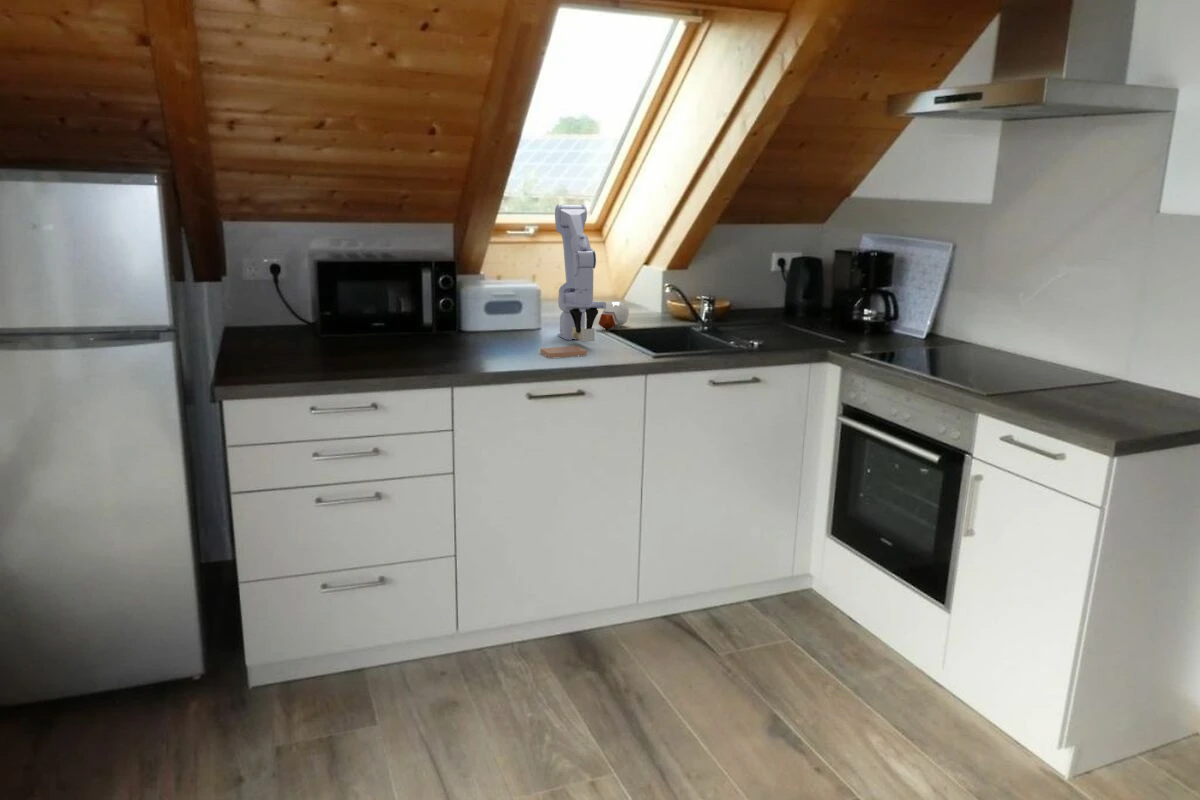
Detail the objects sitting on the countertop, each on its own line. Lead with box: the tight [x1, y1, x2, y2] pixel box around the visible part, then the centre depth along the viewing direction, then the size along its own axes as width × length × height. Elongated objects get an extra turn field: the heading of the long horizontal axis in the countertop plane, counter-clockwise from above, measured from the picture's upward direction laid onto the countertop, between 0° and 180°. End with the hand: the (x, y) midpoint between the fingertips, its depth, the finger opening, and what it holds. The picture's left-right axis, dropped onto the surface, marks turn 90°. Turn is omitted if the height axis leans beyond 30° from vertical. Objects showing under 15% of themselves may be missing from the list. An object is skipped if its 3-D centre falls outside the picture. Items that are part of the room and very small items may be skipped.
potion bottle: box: [598, 300, 630, 330], centre depth 313 cm, size 9×10×15 cm
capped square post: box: [572, 327, 596, 343], centre depth 280 cm, size 11×4×4 cm, turn 23°
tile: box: [539, 345, 587, 359], centre depth 267 cm, size 2×12×8 cm
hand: (583, 332), depth 279 cm, fingers closed on capped square post, 3 cm apart
